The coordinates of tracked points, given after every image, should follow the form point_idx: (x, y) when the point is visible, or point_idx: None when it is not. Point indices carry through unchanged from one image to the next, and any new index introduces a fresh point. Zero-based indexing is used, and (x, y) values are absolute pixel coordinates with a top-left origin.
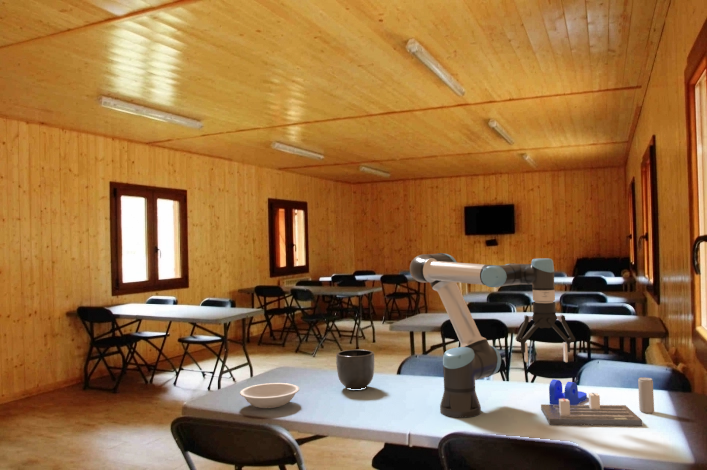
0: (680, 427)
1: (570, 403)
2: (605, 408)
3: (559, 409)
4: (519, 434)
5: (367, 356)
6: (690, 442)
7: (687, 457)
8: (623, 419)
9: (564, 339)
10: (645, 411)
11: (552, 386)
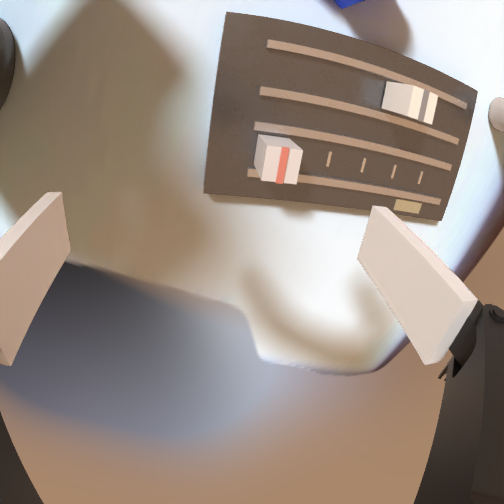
0: (481, 227)
1: (349, 5)
2: None
3: (259, 140)
4: (105, 264)
5: None
6: None
7: (381, 357)
8: (410, 212)
9: (444, 395)
10: (492, 125)
11: None
